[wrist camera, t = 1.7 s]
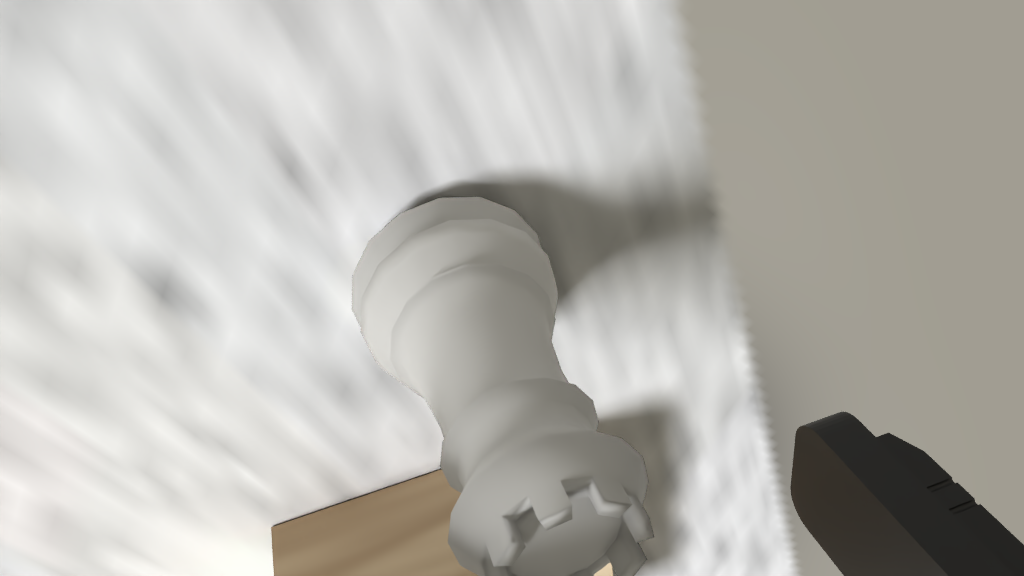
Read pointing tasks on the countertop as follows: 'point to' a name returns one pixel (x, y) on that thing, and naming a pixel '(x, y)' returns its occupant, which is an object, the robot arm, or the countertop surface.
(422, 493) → the socket block
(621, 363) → the countertop surface
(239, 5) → the countertop surface
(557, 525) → the rook chess piece
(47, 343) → the countertop surface
